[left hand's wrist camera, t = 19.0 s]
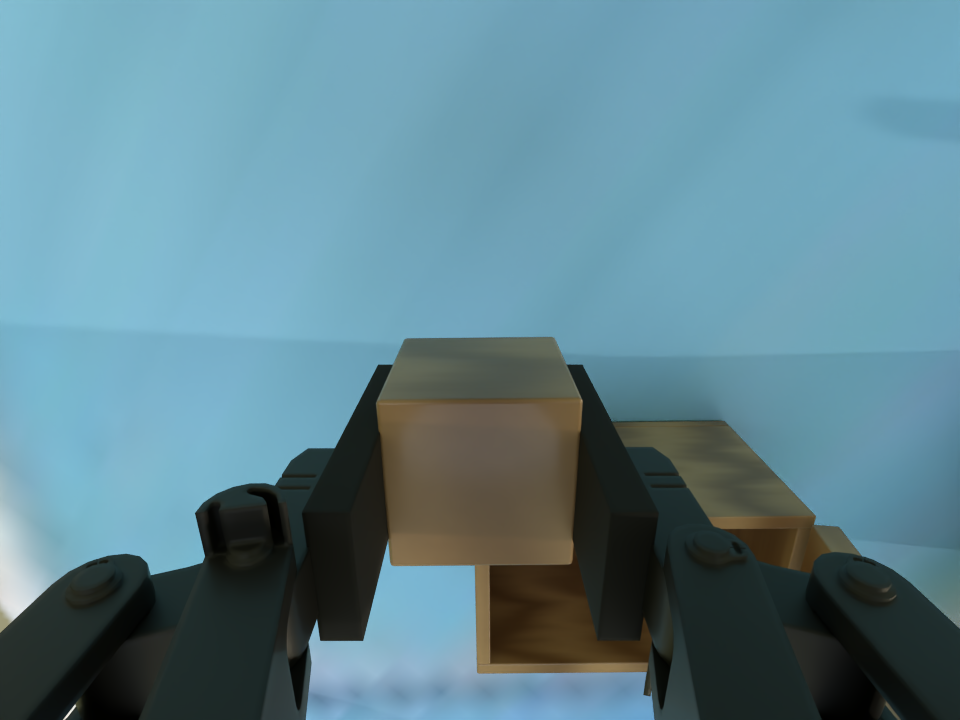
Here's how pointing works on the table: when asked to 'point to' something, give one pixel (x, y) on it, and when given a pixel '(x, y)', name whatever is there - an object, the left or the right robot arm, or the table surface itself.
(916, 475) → the table surface
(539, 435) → the block
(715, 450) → the chest
